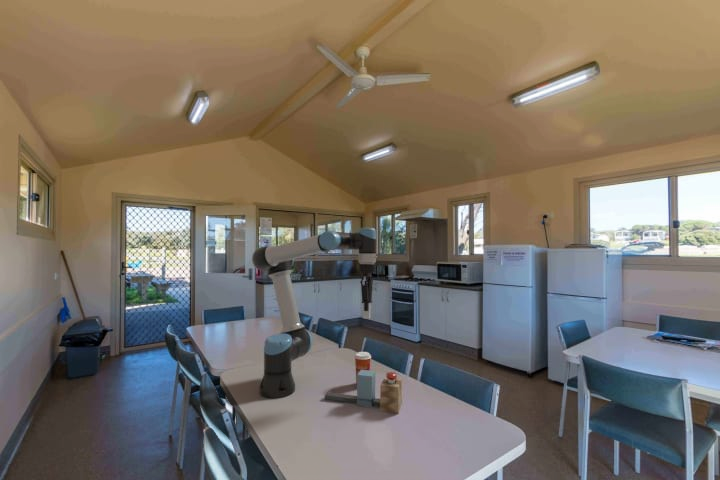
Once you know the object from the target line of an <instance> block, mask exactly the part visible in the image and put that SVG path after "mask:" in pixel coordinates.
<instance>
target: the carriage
mask: <svg viewBox="0 0 720 480" xmlns="http://www.w3.org/2000/svg"><path fill="white" fill-rule="evenodd" d="M356 396H357V404H356V406H357V407H359V406H360V407H366V408H373V406H372V401H373V399H374V398H376V371H375V370H370V371H369V370H360V372H359V373H358V374H357V383H356Z"/></svg>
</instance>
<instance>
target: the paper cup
mask: <svg viewBox="0 0 720 480" xmlns="http://www.w3.org/2000/svg"><path fill="white" fill-rule="evenodd" d="M371 359H372V355H371V354H370V353H369V352H368V351H358V352H356V353H355V354H354V362H355V363H354V365H355V381H356V382H355V383H356V384H357V374H358V373H359V372H360V370H369V371H371Z"/></svg>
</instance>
